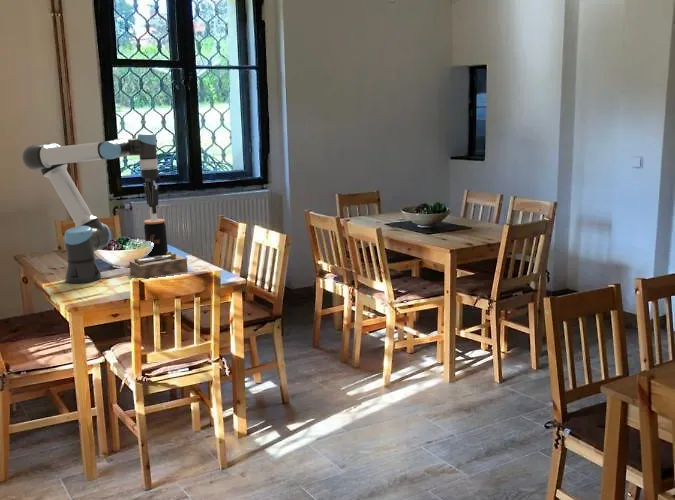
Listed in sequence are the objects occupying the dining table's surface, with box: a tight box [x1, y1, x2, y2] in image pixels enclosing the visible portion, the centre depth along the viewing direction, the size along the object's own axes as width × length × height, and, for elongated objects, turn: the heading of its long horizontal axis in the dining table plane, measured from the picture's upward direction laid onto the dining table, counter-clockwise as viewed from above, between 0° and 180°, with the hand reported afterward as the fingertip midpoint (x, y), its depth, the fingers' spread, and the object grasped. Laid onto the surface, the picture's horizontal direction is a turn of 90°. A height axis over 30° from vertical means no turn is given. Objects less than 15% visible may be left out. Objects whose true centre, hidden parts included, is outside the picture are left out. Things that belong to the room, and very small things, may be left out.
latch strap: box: [136, 253, 172, 262], centre depth 326 cm, size 17×3×2 cm, turn 126°
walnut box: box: [129, 251, 188, 279], centre depth 328 cm, size 22×14×8 cm, turn 126°
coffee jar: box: [143, 218, 169, 258], centre depth 364 cm, size 11×11×18 cm
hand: (154, 220), depth 323 cm, fingers closed
